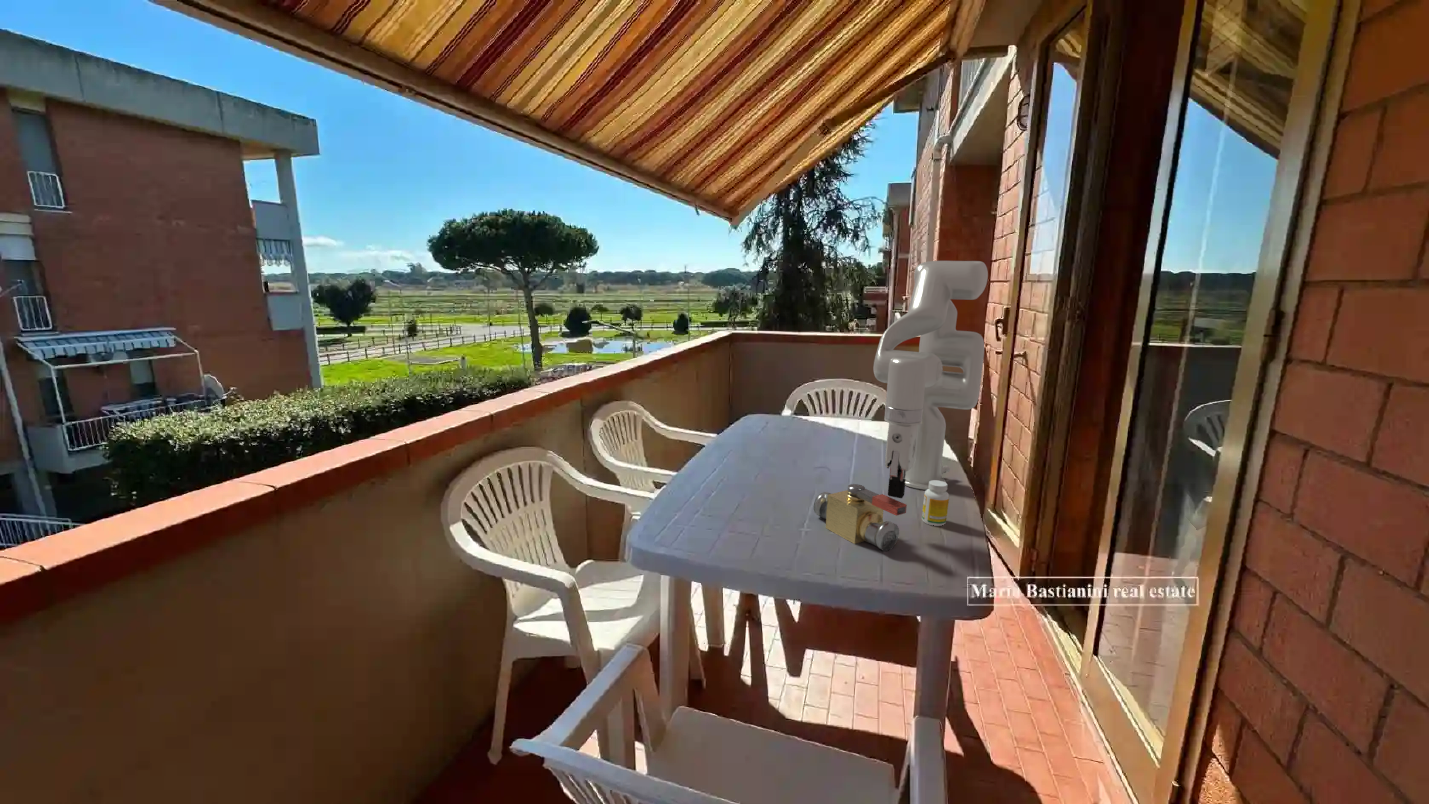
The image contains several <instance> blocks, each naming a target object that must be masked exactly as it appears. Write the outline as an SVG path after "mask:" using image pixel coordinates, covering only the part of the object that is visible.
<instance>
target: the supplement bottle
mask: <svg viewBox="0 0 1429 804" xmlns="http://www.w3.org/2000/svg"><path fill="white" fill-rule="evenodd" d="M928 487H929V489H927V490H924V494H923V504H922V511H921V520H922V522H924V524H927V525H928V526H933V525H934V527H943V526H944V524H945V525H946V523H947V519H948V510H949V502H950V494H949V493H948V491H947V490H948V483H947V482H946V483H945V482H943V481H938V480H932V481H929V486H928ZM942 525H943V526H942Z"/></svg>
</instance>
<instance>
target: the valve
mask: <svg viewBox="0 0 1429 804" xmlns="http://www.w3.org/2000/svg"><path fill="white" fill-rule="evenodd" d="M813 512H814V514H815V515H816V516H818V517H820V518H822V519H824V520H825V529H826V530H829V531H830V532H832V533H833V534H836V535H837V536H840V537H841V538H843V539H844V540H847V541H849V542H850V543H852V544H853V545H857V544H859V543H863V542H866V543H870V544H871V545H873V546H876V548H878V549H880V550H881V551H884V552H887V551H889V550H892V549H893V548H894V546H895V545H896V544H897V542H898V540H899V536H900V528H899V526H898V524H896V523H894V522H892V521H890V520H888V521H884V519H883V518H884V510H883V509H881V508H878V507H876V506H874V505H872V503H870V502H867V501H865V500H863V499H861V498H859V497H854V496H850V495H849V494H848V489H845V490H842V491H839V492H833V493H830V492H828V491H823V492H821V493H820V494H818V495H817V497H816V498H815V500H814V503H813Z"/></svg>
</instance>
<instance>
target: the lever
mask: <svg viewBox="0 0 1429 804" xmlns="http://www.w3.org/2000/svg"><path fill="white" fill-rule="evenodd" d="M847 490H848V494H849V495H850V496H854V497H859V498H861V499H863V500H865V501H867V502H870V503H872V505H874V506H876V507H878V508H881V509H883V511H885V512H888V513H890V514H891V515H893V516H894V515H895V516H901V515H903V514H906V513H907V505H908V504H907V503H904V502H902V501H900V500H897V499H895V498H893V497H891V496H888V495H885V494H883V493H882V494H879V493H877V492H874V491H871V490H870V489H867V488H866V487H865V486H864V485H861V484H858V483H853V484H852V483H851V484H848V486H847Z"/></svg>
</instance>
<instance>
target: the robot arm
mask: <svg viewBox="0 0 1429 804" xmlns="http://www.w3.org/2000/svg"><path fill="white" fill-rule="evenodd" d="M913 277H914V278H913V279H914V285H913V286H914V287H913V290H912V293H911V298H910V300H909V301H910V302H909V306H908V311H907V312H906V313H905V314H903V315H901V316H900V317H899V318H898V319H896V320H895V321H894V322H892V324H891V325H889V326H888V327H887V329H885V330H884V332H883V334H882V335H881V337H880V338H879V343H878V346H877V349H876V353H875V356H874V360H873V366H872V367H873V374H874V377H875V379H876V380H877V381H879V382H881V383H884V384H887V385H886V399H885V407H884V408H885V409H884V418H883V419H884V421H885V422H886V423H888V429H887V438H886V447H885V457H884V461H885V462H884V466H885V468H886V469H889V478H888V485H887V486H888V487H887V488H888V489H887V496H888V497H890V498H897V499H903V498H904V496H905V489H906V487H909V488H912V489H917V490H924V491H926V490H927V489H929V487H928V486H929V481H932V480H938V481H943V482H945V483H947V481H946V480H945V478H943V475H944V474H946V473H950V472H951V467H950V466H949V465H942V463H943V454H944V446H945V439H946V438H945V435H946V429H947V427H946V426H947V424H946V419H945V417H944V415H943V413H942V412H941V410H939V408H947V409H956V410H972V409H974V408H976V405H977V404H978V401H979V397H980V391H981V382H982V373H983V365H984V357H985V341H984V337H983V336H982V335H981V334H980V333H978V332H976V331H970V330H968V331H967V330H957V329H956V326H957V319H958V310H957V308H956V306H955V304H954V303H953V301H952V300H972V301H973V300H977V299H978V298H979V297H980V296H981V295H982V294H983V292H984V291H985V288H986V286H987V284H988V277H989V273H988V267H987V265H986V264H985V262H983V261H980V260H929V261H925V262H921V263H919V264H918V265H917V266H916V267H915V269H914V275H913ZM919 336H920V338H919V346H918V351H913V350H910V351H908V350H899V349H895V348H896V347H897V346H898V345H900V344H901V343H903V342H906V341H909V340H911V339H913V338H917V337H919ZM943 367H950V368H951V367H953V368H960V369H961V370H962V372H955V371H945V370H944V369H943Z"/></svg>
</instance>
